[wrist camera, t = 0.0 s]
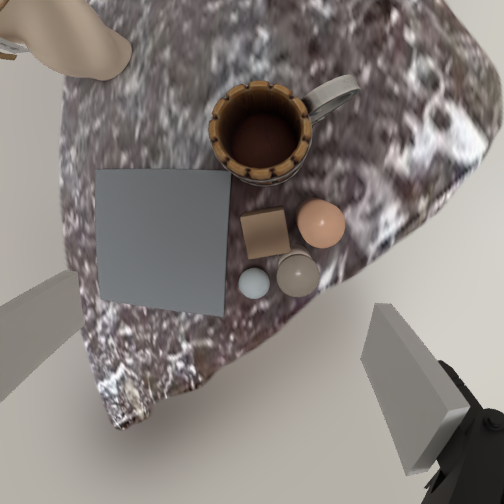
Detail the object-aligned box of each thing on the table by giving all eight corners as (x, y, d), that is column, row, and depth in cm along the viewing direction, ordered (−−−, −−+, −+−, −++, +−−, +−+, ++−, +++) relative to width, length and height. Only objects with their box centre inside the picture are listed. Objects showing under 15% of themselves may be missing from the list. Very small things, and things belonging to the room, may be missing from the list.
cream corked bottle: (132, 87, 35) (-15, 17, 8) (83, 97, 36) (-64, 61, 9) (139, 28, 33) (27, -67, 6) (91, 41, 33) (-31, -22, 6)
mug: (250, 201, 39) (236, 216, 24) (208, 133, 37) (171, 109, 22) (353, 144, 36) (398, 127, 21) (311, 76, 34) (331, 25, 19)
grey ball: (241, 262, 41) (237, 271, 37) (271, 265, 40) (270, 274, 37) (239, 290, 42) (236, 302, 38) (268, 293, 41) (267, 305, 38)
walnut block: (244, 212, 39) (239, 217, 34) (282, 205, 38) (283, 209, 34) (251, 249, 40) (248, 259, 35) (288, 242, 40) (291, 252, 35)
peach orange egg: (296, 195, 38) (301, 199, 31) (334, 199, 38) (347, 204, 31) (293, 233, 39) (297, 245, 32) (330, 237, 39) (342, 249, 32)
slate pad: (97, 169, 39) (95, 169, 38) (231, 171, 38) (231, 171, 37) (102, 297, 44) (100, 299, 43) (224, 314, 43) (223, 316, 42)
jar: (277, 240, 40) (278, 254, 33) (314, 244, 39) (322, 258, 33) (274, 275, 41) (274, 295, 34) (309, 278, 41) (316, 298, 34)
